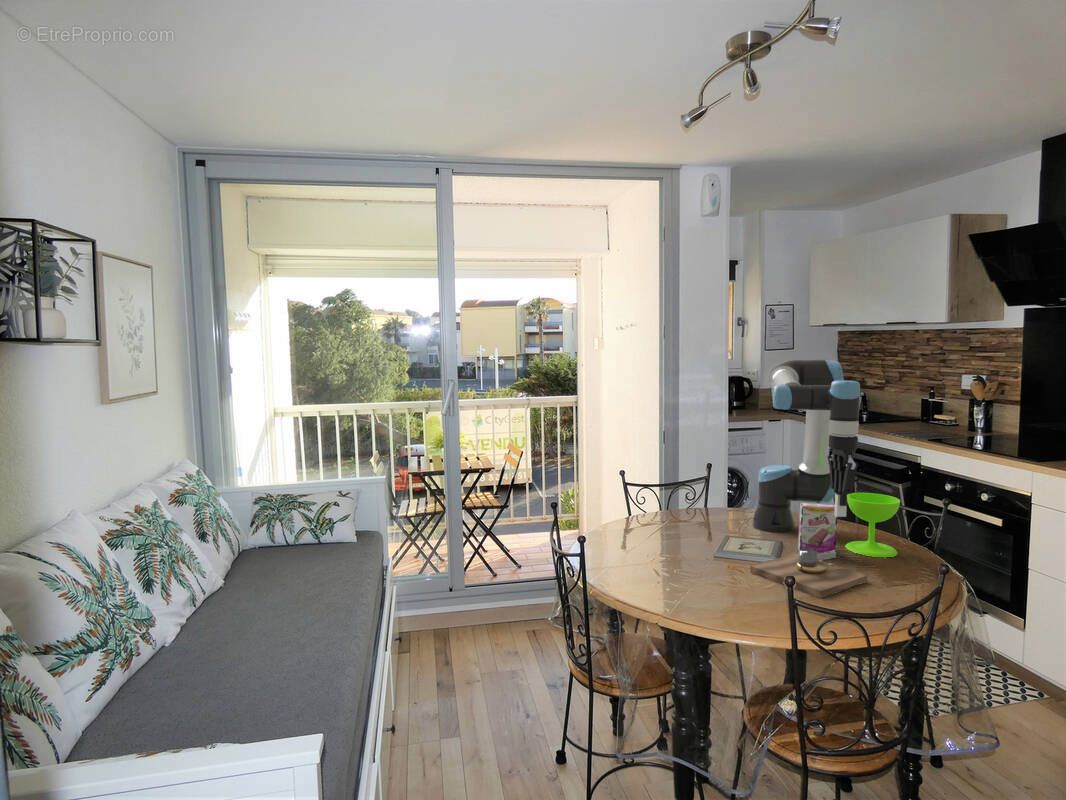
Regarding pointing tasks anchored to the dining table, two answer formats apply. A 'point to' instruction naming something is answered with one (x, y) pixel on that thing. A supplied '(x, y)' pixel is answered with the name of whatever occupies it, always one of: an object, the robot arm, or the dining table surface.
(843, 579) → the board
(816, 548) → the candy bar box
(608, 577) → the dining table surface
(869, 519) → the wineglass
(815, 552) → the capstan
